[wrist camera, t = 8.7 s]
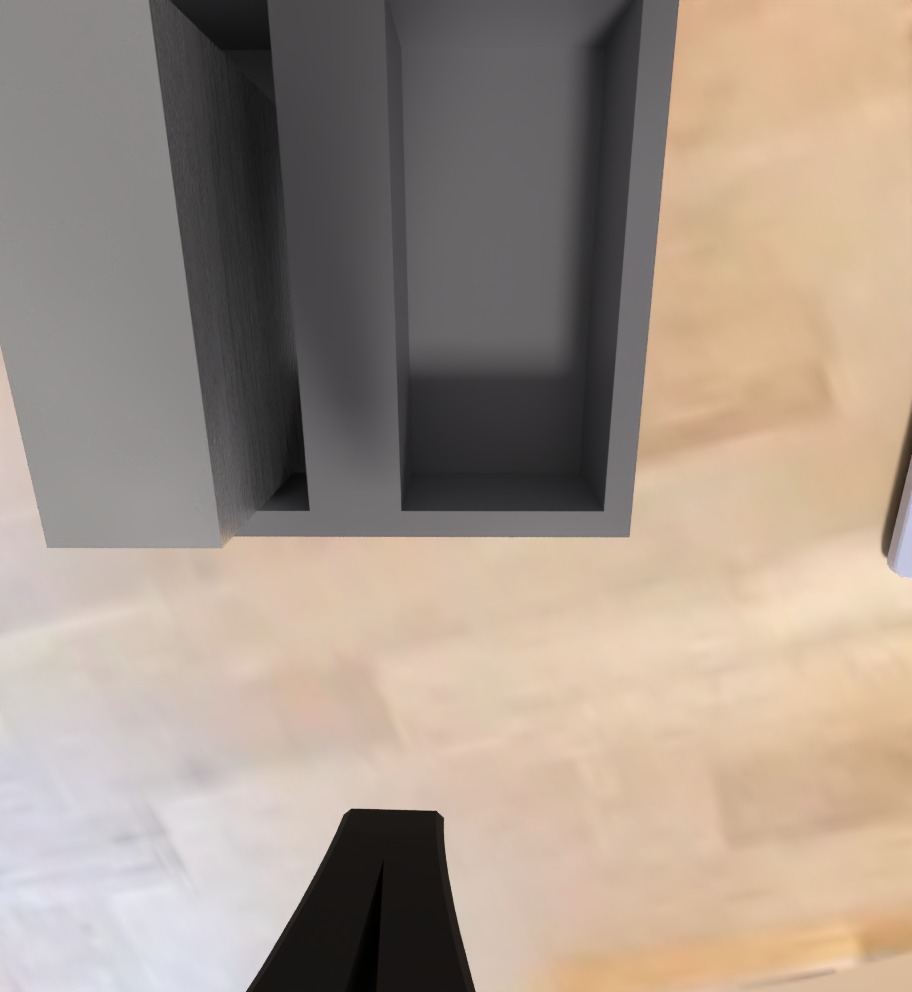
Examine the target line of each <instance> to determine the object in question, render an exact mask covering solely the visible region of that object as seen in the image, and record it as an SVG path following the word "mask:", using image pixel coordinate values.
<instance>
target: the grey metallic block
mask: <svg viewBox="0 0 912 992" xmlns="http://www.w3.org/2000/svg"><path fill="white" fill-rule="evenodd" d="M0 345H1V349H2V354H3V358H4V362H5V367H6V371H7V375H8V380H9V384H10V388H11V393H12V397H13V401H14V406H15V410H16V414H17V419H18V423H19V427H20V432H21V436H22V440H23V444H24V449H25V453H26V457H27V462H28V466H29V470H30V475H31V479H32V483H33V488H34V492H35V496H36V501H37V505H38V509H39V514H40V518H41V522H42V527H43V531H44V535H45V540H46V544H47V548H223V547H224V546H225V544H226V543H227V542H228V541H229V540H230V539H231V538H232V537H233V536H234V535H235V534H236V533H237V532H238V531H239V530H240V529H241V528H242V527H243V525H244V524H245V523H246V522H247V521H248V520H249V519H250V518H251V517H252V516H253V515H254V514H255V513H256V512H257V511H258V510H259V509H260V507H261V506H262V505H263V504H264V503H265V502H266V501H267V500H268V499H269V498H270V497H271V496H272V495H273V494H274V493H275V492H276V491H277V489H278V488H279V487H280V486H281V485H282V484H283V483H284V482H285V481H286V480H287V479H288V478H289V477H290V476H291V475H292V474H293V473H294V471H295V470H296V469H297V468H298V467H299V466H300V465H301V464H302V463H303V462H304V461H305V460H306V459H305V447H304V435H303V423H302V411H301V399H300V387H299V375H298V363H297V351H296V339H295V327H294V315H293V303H292V291H291V279H290V267H289V255H288V243H287V231H286V219H285V207H284V195H283V183H282V171H281V159H280V147H279V135H278V123H277V111H276V104H274V103H273V102H272V101H271V100H270V99H269V98H268V97H267V96H266V95H265V94H264V93H263V92H262V91H261V90H260V89H259V88H258V87H257V86H256V85H255V84H254V83H253V82H252V81H251V80H250V79H249V78H248V77H247V76H246V75H245V74H244V73H243V72H242V71H241V70H240V69H239V68H238V67H237V66H236V65H235V64H234V63H233V62H232V61H231V60H230V59H229V58H228V57H227V56H226V55H225V54H224V53H223V52H222V51H221V50H220V49H219V48H218V47H217V46H216V45H215V44H214V43H213V42H212V41H210V40H209V39H208V38H207V37H206V36H205V35H204V34H203V33H202V32H201V31H200V30H199V29H198V28H197V27H196V26H195V25H194V24H193V23H192V22H191V21H190V20H189V19H188V18H187V17H186V16H185V15H184V14H183V13H182V12H181V11H180V10H179V9H178V8H177V7H176V6H175V5H174V4H173V3H172V2H171V1H170V0H0Z"/></svg>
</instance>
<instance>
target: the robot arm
mask: <svg viewBox="0 0 912 992" xmlns="http://www.w3.org/2000/svg"><path fill="white" fill-rule="evenodd" d="M887 564H888V566H889V568H890V570H892V571H893V572H895V573H896V574H898V575H899V576H901V577H904V578H912V457H911V461H910V465H909V469H908V473H907V478H906V482H905V486H904V490H903V494H902V499H901V503H900V507H899V511H898V515H897V520H896V524H895V528H894V532H893V536H892V541H891V545H890V549H889V553H888V557H887ZM246 992H476V991H475V988H474V984H473V981H472V977H471V973H470V969H469V965H468V961H467V957H466V953H465V949H464V946H463V942H462V938H461V934H460V930H459V925H458V921H457V917H456V912H455V907H454V902H453V897H452V892H451V886H450V881H449V875H448V869H447V862H446V854H445V843H444V818H443V817H442V816H441V815H440V814H439V813H438V812H437V811H420V810H383V809H350V810H349V811H348V812H347V813H345V814H344V816H343V818H342V820H341V823H340V825H339V827H338V830H337V832H336V834H335V836H334V838H333V840H332V842H331V844H330V846H329V849H328V851H327V853H326V855H325V857H324V859H323V861H322V862H321V864H320V866H319V868H318V870H317V872H316V874H315V876H314V878H313V880H312V881H311V883H310V885H309V887H308V889H307V891H306V892H305V894H304V896H303V898H302V900H301V902H300V903H299V905H298V907H297V909H296V910H295V912H294V914H293V915H292V917H291V919H290V920H289V922H288V924H287V925H286V927H285V929H284V931H283V932H282V934H281V936H280V937H279V939H278V941H277V942H276V944H275V946H274V948H273V949H272V951H271V953H270V954H269V956H268V958H267V959H266V961H265V963H264V964H263V966H262V968H261V969H260V971H259V972H258V974H257V976H256V977H255V979H254V980H253V982H252V983H251V985H250V986H249V988H248V989H247V991H246Z"/></svg>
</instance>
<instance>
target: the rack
mask: <svg viewBox="0 0 912 992" xmlns="http://www.w3.org/2000/svg"><path fill="white" fill-rule="evenodd" d="M170 1H171V2H172V3H173V4H174V5H175V6H176V7H177V8H178V9H179V10H180V11H181V12H182V13H183V14H184V15H185V16H186V17H187V18H188V19H189V20H190V21H191V22H192V23H193V24H194V25H195V26H196V27H197V28H198V29H199V30H200V31H201V32H202V33H203V34H204V35H205V36H206V37H207V38H208V39H209V40H210V41H212V42H213V43H214V44H215V45H216V46H217V47H218V48H219V49H220V50H221V51H222V52H223V53H224V54H225V55H226V56H227V57H228V58H229V59H230V60H231V61H232V62H233V63H234V64H235V65H236V66H237V67H238V68H239V69H240V70H241V71H242V72H243V73H244V74H245V75H246V76H247V77H248V78H249V79H250V80H251V81H252V82H253V83H254V84H255V85H256V86H257V87H258V88H259V89H260V90H261V91H262V92H263V93H264V94H265V95H266V96H267V97H268V98H269V99H270V100H271V101H272V102H273V103H274V104H276V111H277V123H278V135H279V147H280V159H281V171H282V183H283V195H284V207H285V219H286V231H287V243H288V255H289V267H290V279H291V291H292V303H293V315H294V327H295V339H296V351H297V363H298V375H299V387H300V399H301V411H302V423H303V435H304V447H305V459H306V460H305V461H304V462H303V463H302V464H301V465H300V466H299V467H298V468H297V469H296V470H295V471H294V473H293V474H292V475H291V476H290V477H289V478H288V479H287V480H286V481H285V482H284V483H283V484H282V485H281V486H280V487H279V488H278V489H277V491H276V492H275V493H274V494H273V495H272V496H271V497H270V498H269V499H268V500H267V501H266V502H265V503H264V504H263V505H262V506H261V507H260V509H259V510H258V511H257V512H256V513H255V514H254V515H253V516H252V517H251V518H250V519H249V520H248V521H247V522H246V523H245V524H244V525H243V527H242V528H241V529H240V530H239V531H238V532H237V533H236V534H235V535H234V536H305V537H629V536H630V525H631V514H632V503H633V492H634V481H635V471H636V460H637V449H638V438H639V427H640V417H641V406H642V395H643V384H644V373H645V363H646V352H647V341H648V330H649V319H650V309H651V298H652V287H653V276H654V265H655V254H656V244H657V233H658V222H659V211H660V200H661V190H662V179H663V168H664V157H665V146H666V136H667V125H668V114H669V103H670V92H671V82H672V71H673V60H674V49H675V38H676V27H677V17H678V6H679V0H170Z"/></svg>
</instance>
